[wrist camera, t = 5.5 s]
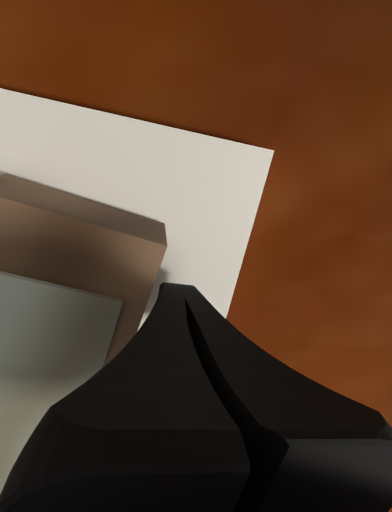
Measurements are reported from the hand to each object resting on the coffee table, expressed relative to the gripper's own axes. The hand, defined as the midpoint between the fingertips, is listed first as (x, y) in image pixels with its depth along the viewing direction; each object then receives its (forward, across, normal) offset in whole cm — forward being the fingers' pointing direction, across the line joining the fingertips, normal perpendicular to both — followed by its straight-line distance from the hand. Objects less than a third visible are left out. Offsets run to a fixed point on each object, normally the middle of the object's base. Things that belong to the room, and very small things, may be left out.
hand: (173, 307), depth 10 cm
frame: (+1, +4, +4) cm, 6 cm away
